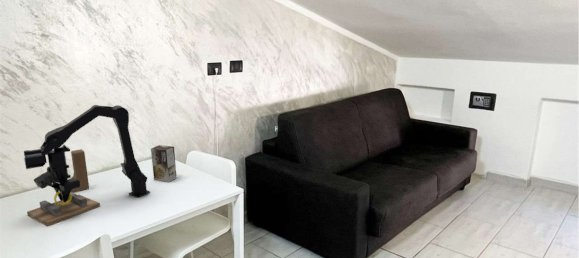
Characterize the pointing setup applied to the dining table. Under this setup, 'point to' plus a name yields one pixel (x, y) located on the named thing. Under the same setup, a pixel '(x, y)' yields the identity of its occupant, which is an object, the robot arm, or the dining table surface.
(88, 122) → the robot arm
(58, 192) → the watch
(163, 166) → the coffee box
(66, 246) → the dining table surface
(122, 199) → the dining table surface
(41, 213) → the cradle
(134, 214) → the dining table surface
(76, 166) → the wooden block
